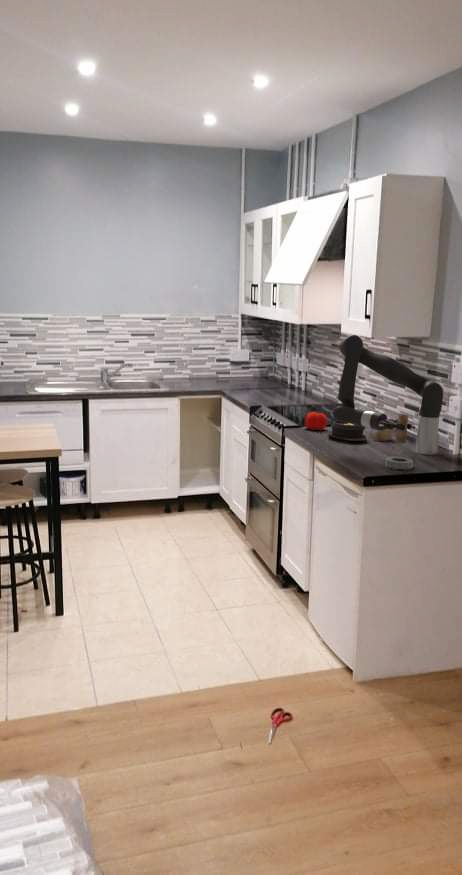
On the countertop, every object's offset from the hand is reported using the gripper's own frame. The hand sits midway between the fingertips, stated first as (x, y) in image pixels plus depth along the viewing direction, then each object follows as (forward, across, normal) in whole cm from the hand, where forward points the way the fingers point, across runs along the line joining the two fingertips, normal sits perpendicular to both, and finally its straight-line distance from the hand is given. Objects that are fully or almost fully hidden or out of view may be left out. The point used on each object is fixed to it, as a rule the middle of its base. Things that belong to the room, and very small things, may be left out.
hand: (407, 427), depth 312 cm
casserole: (-52, +28, +18) cm, 62 cm away
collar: (-3, 0, +18) cm, 18 cm away
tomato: (-77, +34, +18) cm, 86 cm away
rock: (-41, +42, +18) cm, 61 cm away
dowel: (-3, 0, +7) cm, 8 cm away
